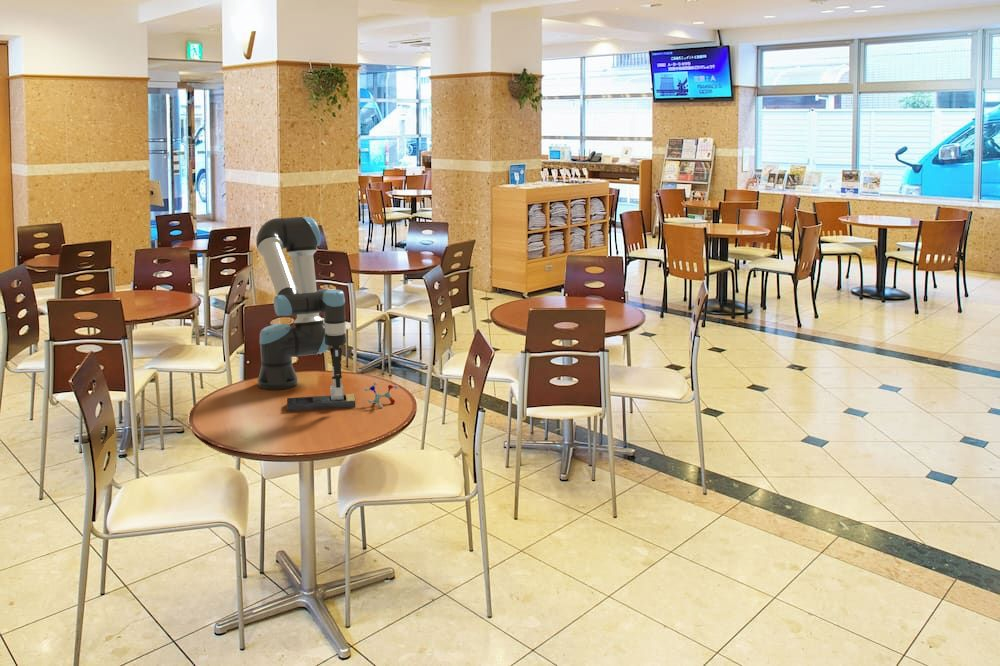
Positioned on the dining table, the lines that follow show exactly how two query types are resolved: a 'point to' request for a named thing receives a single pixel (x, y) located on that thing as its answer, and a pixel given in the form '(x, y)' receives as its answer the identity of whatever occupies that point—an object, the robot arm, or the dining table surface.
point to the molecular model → (381, 394)
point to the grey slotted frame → (319, 403)
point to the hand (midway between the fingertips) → (337, 389)
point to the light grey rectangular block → (336, 398)
